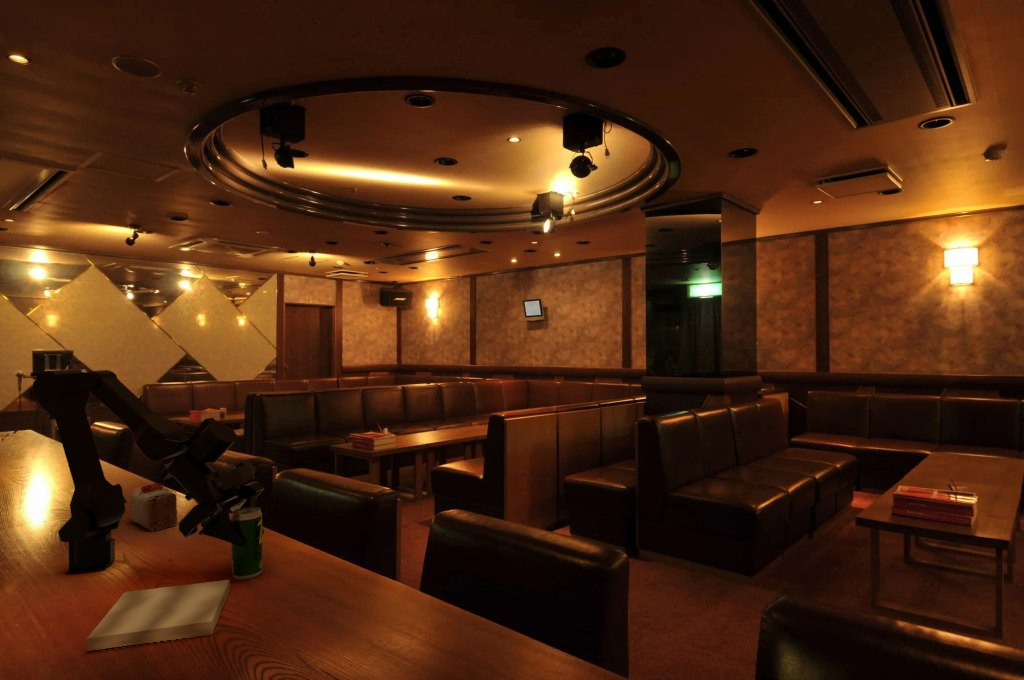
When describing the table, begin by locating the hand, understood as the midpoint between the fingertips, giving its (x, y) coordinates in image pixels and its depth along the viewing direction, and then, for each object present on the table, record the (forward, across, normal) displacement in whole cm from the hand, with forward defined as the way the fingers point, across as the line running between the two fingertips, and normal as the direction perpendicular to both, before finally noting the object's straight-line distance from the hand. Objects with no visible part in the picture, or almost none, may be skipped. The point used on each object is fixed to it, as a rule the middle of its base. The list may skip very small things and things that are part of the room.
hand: (253, 539), depth 111 cm
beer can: (+4, 0, +6) cm, 7 cm away
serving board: (+2, -18, +8) cm, 19 cm away
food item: (-25, +26, +35) cm, 50 cm away
